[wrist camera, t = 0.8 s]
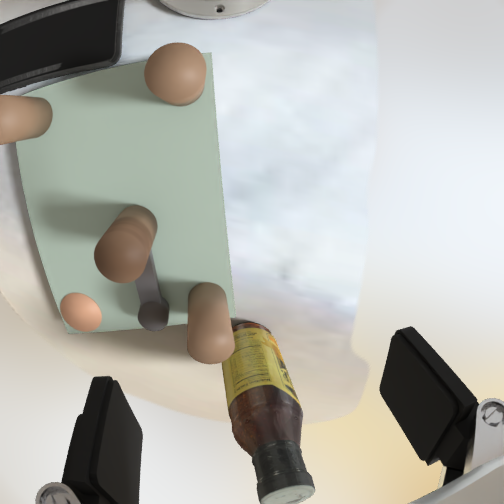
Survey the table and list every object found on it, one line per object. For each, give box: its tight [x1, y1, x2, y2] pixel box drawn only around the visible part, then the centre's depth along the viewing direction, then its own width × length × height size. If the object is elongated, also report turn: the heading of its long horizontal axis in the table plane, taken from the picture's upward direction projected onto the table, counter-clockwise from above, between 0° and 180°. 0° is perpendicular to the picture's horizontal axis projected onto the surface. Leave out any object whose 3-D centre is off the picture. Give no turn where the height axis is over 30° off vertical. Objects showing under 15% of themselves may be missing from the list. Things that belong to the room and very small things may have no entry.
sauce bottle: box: [222, 323, 315, 504], centre depth 26 cm, size 6×6×20 cm
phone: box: [0, 0, 125, 94], centre depth 19 cm, size 8×1×15 cm
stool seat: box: [0, 43, 236, 364], centre depth 23 cm, size 24×18×9 cm
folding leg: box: [94, 205, 170, 331], centre depth 24 cm, size 11×4×7 cm, turn 4°
